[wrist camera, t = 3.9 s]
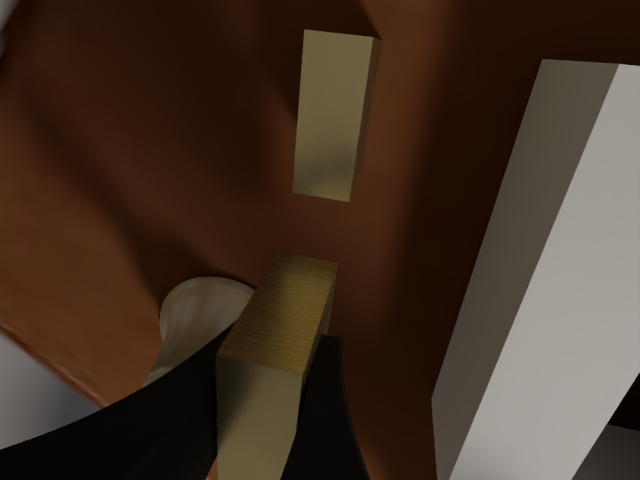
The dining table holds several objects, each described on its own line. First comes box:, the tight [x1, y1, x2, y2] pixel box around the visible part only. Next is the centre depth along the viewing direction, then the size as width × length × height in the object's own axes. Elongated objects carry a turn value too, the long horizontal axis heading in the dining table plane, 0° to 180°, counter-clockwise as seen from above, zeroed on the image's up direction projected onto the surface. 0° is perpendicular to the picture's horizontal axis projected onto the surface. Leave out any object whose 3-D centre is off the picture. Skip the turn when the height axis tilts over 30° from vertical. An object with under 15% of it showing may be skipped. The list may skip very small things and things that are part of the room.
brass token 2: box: [292, 29, 382, 202], centre depth 15 cm, size 5×2×5 cm, turn 174°
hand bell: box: [143, 277, 255, 387], centre depth 17 cm, size 8×8×16 cm
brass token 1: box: [216, 252, 338, 480], centre depth 12 cm, size 5×2×5 cm, turn 174°
